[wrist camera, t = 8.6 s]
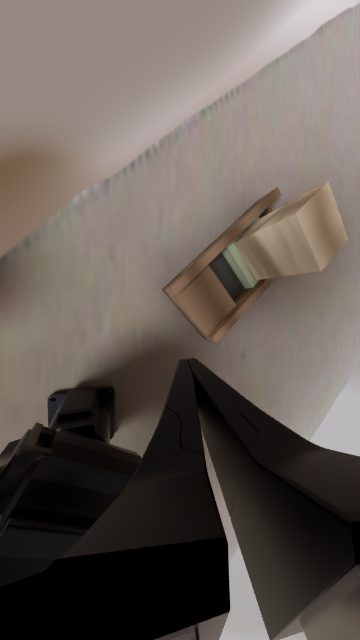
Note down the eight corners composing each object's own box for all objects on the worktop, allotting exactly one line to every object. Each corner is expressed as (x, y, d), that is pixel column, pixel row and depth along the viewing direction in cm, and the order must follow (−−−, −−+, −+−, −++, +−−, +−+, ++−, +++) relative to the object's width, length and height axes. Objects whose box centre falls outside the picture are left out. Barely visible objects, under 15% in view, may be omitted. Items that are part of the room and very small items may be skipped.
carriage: (256, 280, 24) (321, 271, 16) (233, 242, 22) (295, 214, 14) (277, 257, 25) (348, 239, 17) (258, 219, 23) (328, 181, 15)
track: (203, 338, 24) (216, 343, 21) (162, 289, 21) (169, 288, 18) (284, 252, 28) (304, 247, 25) (258, 200, 25) (277, 187, 22)
